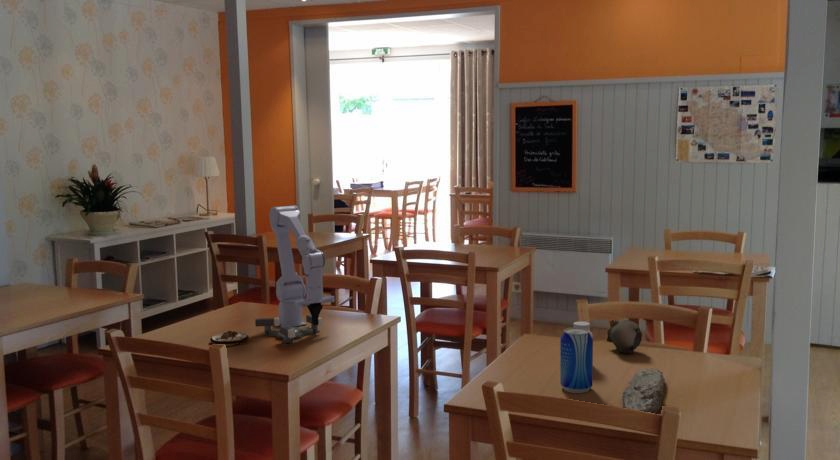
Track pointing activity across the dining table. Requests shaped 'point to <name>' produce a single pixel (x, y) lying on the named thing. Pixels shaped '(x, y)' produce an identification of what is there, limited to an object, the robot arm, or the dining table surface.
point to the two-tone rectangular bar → (287, 333)
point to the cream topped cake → (230, 338)
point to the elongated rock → (644, 391)
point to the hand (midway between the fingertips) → (315, 324)
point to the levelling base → (298, 333)
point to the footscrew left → (315, 327)
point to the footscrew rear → (267, 323)
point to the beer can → (576, 360)
